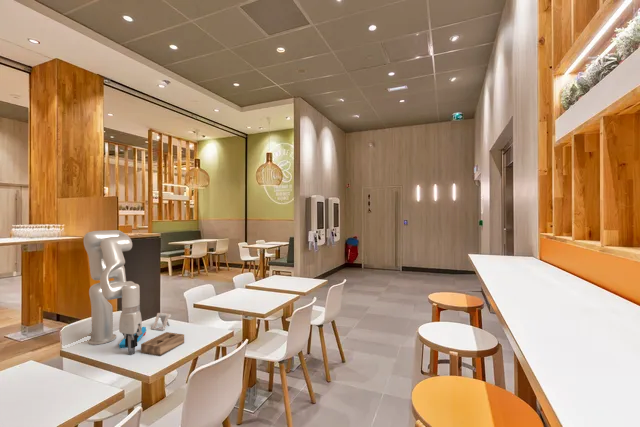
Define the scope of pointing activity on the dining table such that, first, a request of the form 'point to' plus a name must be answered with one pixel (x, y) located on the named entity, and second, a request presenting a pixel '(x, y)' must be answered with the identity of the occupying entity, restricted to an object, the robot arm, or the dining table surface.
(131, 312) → the robot arm
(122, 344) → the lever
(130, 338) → the pin
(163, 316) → the portable electronic device stand
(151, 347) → the hole block
